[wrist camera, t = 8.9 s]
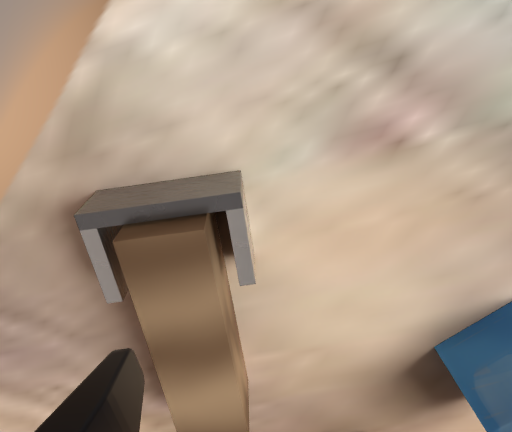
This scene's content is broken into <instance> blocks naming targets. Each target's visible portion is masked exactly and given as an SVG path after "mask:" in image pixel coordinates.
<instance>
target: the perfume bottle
mask: <svg viewBox="0 0 512 432" xmlns="http://www.w3.org/2000/svg"><path fill="white" fill-rule="evenodd" d="M434 348H435V349H436V351H437V353H438V354H439V356H440V357H441V359H442V361H443V362H444V364H445V365H446V367H447V369H448V370H449V372H450V374H451V375H452V377H453V378H454V380H455V382H456V383H457V385H458V386H459V388H460V390H461V391H462V393H463V394H464V396H465V398H466V399H467V401H468V402H469V404H470V406H471V407H472V409H473V411H474V412H475V414H476V415H477V417H478V419H479V420H480V422H481V423H482V425H483V427H484V428H485V430H486V431H487V432H512V302H510V303H508V304H507V305H505V306H503V307H501V308H500V309H498V310H496V311H495V312H493V313H491V314H489V315H488V316H486V317H484V318H483V319H481V320H479V321H478V322H476V323H474V324H472V325H471V326H469V327H467V328H466V329H464V330H462V331H460V332H459V333H457V334H455V335H454V336H452V337H450V338H449V339H447V340H445V341H443V342H442V343H440V344H438V345H437V346H435V347H434Z"/></svg>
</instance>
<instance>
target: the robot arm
mask: <svg viewBox="0 0 512 432" xmlns="http://www.w3.org/2000/svg"><path fill="white" fill-rule="evenodd" d="M143 393H144V375H143V372H142V369H141V367H140V364H139V362H138V360H137V357H136V355H135V353H134V351H133V350H132V349H130V348H127V349H120V350H115V351H112V352H111V353H110V354H109V355H108V356H107V357H106V358H105V359H104V360H103V361H102V362H101V363H100V364H99V365H98V366H97V367H96V368H95V369H94V370H93V371H92V372H91V373H90V375H89V376H88V377H87V378H86V379H85V380H84V381H83V382H82V383H81V384H80V385H79V386H78V387H77V388H76V389H75V390H74V391H73V392H72V393H71V394H70V395H69V396H68V397H67V398H66V399H65V400H64V401H63V403H62V404H61V405H60V406H59V407H58V408H57V409H56V410H55V411H54V412H53V413H52V414H51V415H50V416H49V417H48V418H47V419H46V420H45V421H44V422H43V423H42V424H41V425H40V426H39V427H38V428H37V430H36V431H35V432H139V429H140V420H141V411H142V402H143Z"/></svg>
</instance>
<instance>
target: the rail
mask: <svg viewBox="0 0 512 432" xmlns="http://www.w3.org/2000/svg"><path fill="white" fill-rule="evenodd" d="M113 245H114V248H115V251H116V254H117V257H118V260H119V263H120V266H121V269H122V272H123V275H124V277H125V280H126V283H127V286H128V289H129V292H130V295H131V298H132V301H133V304H134V307H135V310H136V313H137V316H138V319H139V322H140V325H141V328H142V331H143V334H144V336H145V339H146V342H147V345H148V348H149V351H150V354H151V357H152V360H153V363H154V366H155V369H156V372H157V375H158V378H159V381H160V384H161V387H162V390H163V393H164V395H165V398H166V401H167V404H168V407H169V410H170V413H171V416H172V419H173V422H174V425H175V428H176V431H177V432H249V396H248V377H247V372H246V367H245V362H244V357H243V352H242V347H241V342H240V337H239V332H238V327H237V322H236V317H235V312H234V307H233V301H232V296H231V291H230V286H229V281H228V276H227V271H226V266H225V261H224V256H223V251H222V246H221V241H220V236H219V231H218V226H217V221H216V216H215V212H212V213H205V214H198V215H190V216H183V217H176V218H168V219H161V220H154V221H147V222H139V223H132V224H125V225H123V226H122V228H121V229H120V231H119V232H118V234H117V236H116V237H115V239H114V240H113Z"/></svg>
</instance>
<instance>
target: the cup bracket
mask: <svg viewBox="0 0 512 432" xmlns="http://www.w3.org/2000/svg"><path fill="white" fill-rule="evenodd" d="M219 211H226V214H227V220H228V225H229V230H230V236H231V241H232V246H233V252H234V257H235V263H236V268H237V273H238V279H239V284H240V286H243V285H251V284H256V281H255V264H254V251H253V244H252V238H251V232H250V226H249V219H248V213H247V207H246V201H245V194H244V188H243V182H242V176H241V171H235V172H227V173H220V174H213V175H206V176H199V177H192V178H185V179H178V180H170V181H163V182H156V183H149V184H142V185H135V186H128V187H121V188H114V189H106V190H99V191H96V192H95V193H94V194H93V195H92V196H91V197H90V199H89V200H88V201H87V202H86V203H85V204H84V205H83V206H82V207H81V208H80V209H79V210H78V211H77V212H76V213H75V214H74V217H75V220H76V222H77V225H78V228H79V230H80V233H81V236H82V238H83V241H84V244H85V246H86V249H87V252H88V254H89V257H90V259H91V262H92V265H93V267H94V270H95V273H96V275H97V278H98V281H99V283H100V286H101V289H102V291H103V294H104V297H105V299H106V302H107V303H115V302H122V301H123V300H124V297H125V295H126V293H127V291H128V286H127V283H126V280H125V277H124V275H123V272H122V269H121V266H120V263H119V260H118V257H117V254H116V251H115V248H114V245H113V240H114V239H115V237H116V236H117V234H118V232H119V231H120V229H121V228H122V226H123V225H125V224H132V223H139V222H147V221H154V220H161V219H168V218H176V217H183V216H190V215H198V214H205V213H212V212H219Z"/></svg>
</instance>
